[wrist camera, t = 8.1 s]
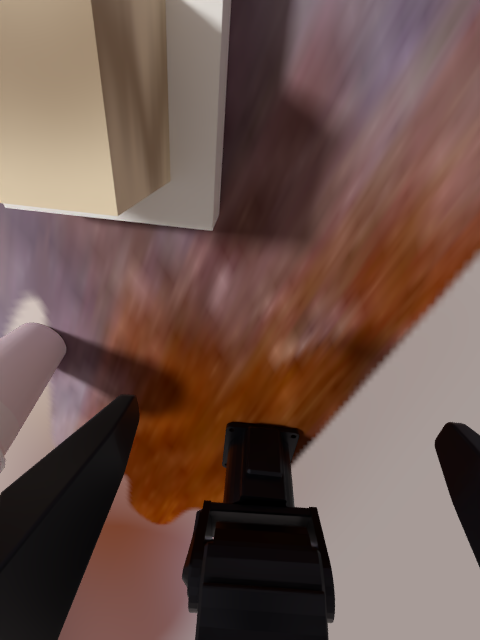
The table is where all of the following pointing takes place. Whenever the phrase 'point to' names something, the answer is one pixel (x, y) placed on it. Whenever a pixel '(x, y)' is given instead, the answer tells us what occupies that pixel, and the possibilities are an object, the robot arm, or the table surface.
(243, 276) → the table surface
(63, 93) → the maple cube
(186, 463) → the table surface
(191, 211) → the plinth
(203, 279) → the table surface
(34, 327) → the smoothie
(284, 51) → the table surface
